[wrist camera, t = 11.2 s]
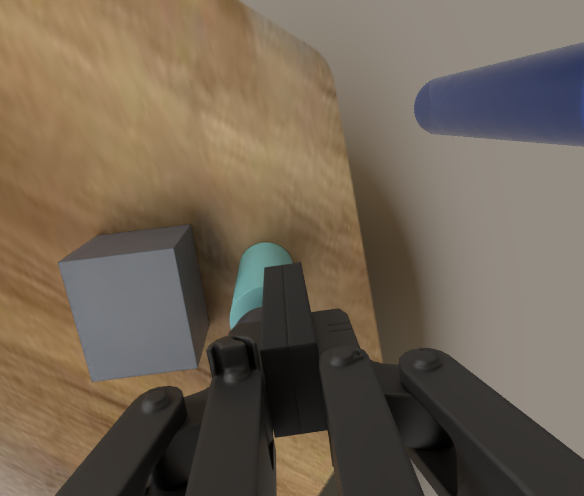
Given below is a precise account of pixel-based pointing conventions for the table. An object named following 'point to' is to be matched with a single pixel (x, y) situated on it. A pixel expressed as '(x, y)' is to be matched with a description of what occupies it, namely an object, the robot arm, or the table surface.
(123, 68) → the table surface
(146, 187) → the table surface
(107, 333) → the gray block
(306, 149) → the table surface
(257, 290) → the teal cylinder with ball
